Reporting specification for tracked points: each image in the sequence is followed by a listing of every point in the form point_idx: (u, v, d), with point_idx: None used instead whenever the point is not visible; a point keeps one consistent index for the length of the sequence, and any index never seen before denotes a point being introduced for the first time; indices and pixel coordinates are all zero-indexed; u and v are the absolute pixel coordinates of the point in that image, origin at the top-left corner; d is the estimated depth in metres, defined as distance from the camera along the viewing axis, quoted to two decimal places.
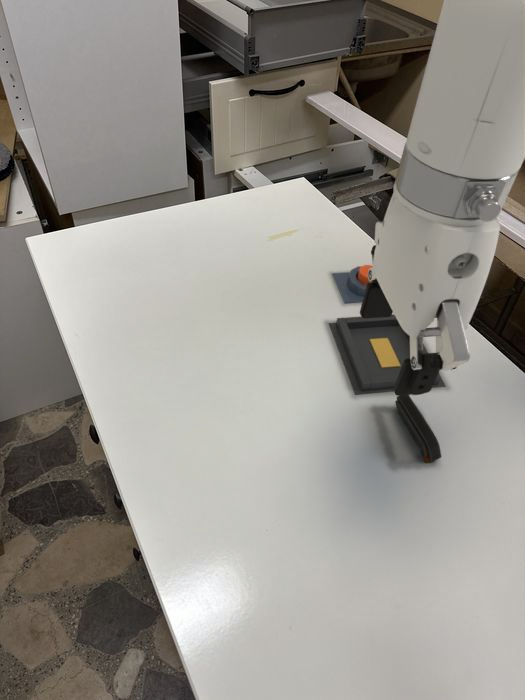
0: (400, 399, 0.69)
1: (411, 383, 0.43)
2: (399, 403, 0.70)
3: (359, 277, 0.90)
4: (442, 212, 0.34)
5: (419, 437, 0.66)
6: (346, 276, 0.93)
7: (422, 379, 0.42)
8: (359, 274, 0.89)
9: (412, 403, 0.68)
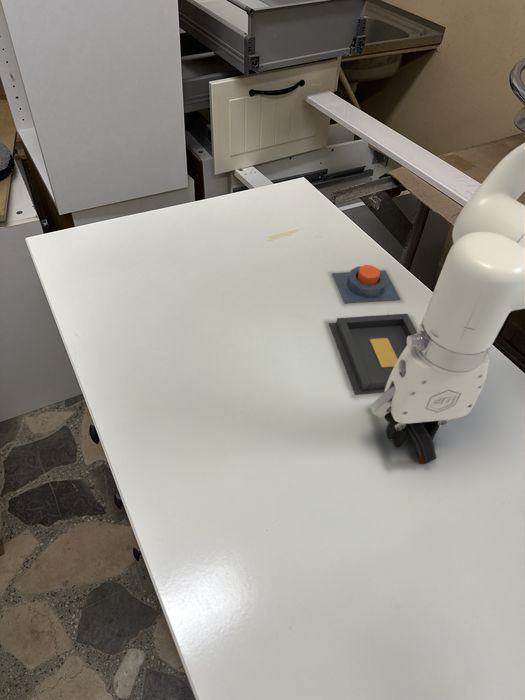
0: None
1: None
2: None
3: (359, 277, 0.90)
4: None
5: (414, 438, 0.65)
6: (346, 276, 0.93)
7: (391, 426, 0.68)
8: (359, 274, 0.89)
9: None
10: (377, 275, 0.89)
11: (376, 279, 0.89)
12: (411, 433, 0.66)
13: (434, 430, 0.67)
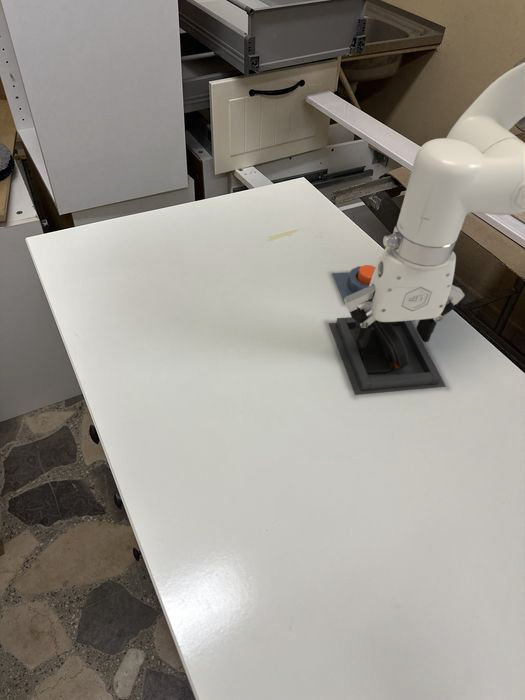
0: None
1: None
2: None
3: (359, 277, 0.90)
4: None
5: (389, 344, 0.75)
6: (346, 276, 0.93)
7: (357, 327, 0.76)
8: (359, 274, 0.89)
9: None
10: None
11: None
12: (387, 341, 0.76)
13: (431, 326, 0.76)
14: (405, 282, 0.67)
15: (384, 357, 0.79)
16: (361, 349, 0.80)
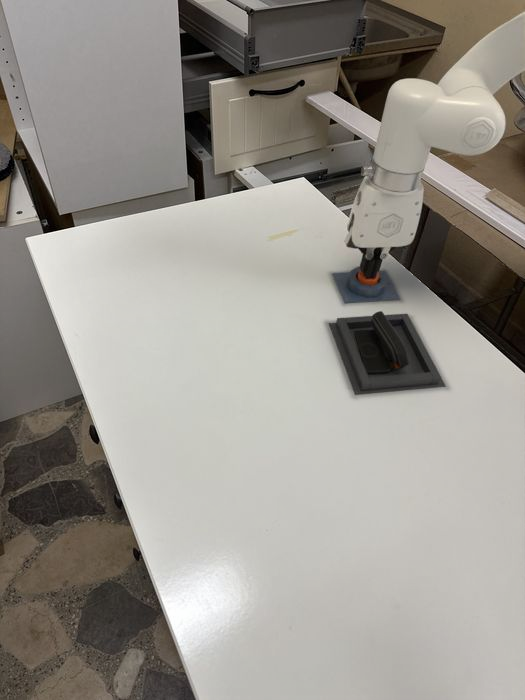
0: (375, 315, 0.79)
1: None
2: (374, 319, 0.79)
3: (358, 280, 0.90)
4: None
5: (389, 344, 0.75)
6: (346, 276, 0.93)
7: (363, 260, 0.88)
8: (358, 277, 0.90)
9: (385, 318, 0.78)
10: (376, 278, 0.89)
11: (375, 282, 0.89)
12: (387, 341, 0.76)
13: (377, 263, 0.86)
14: (380, 208, 0.77)
15: (384, 357, 0.79)
16: (361, 349, 0.80)
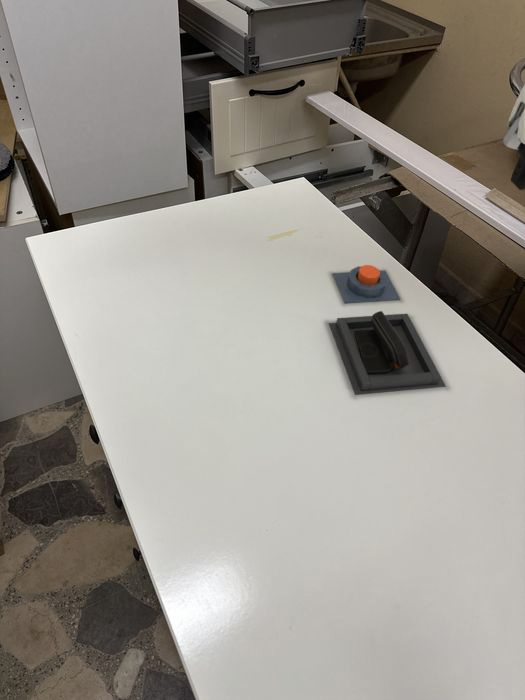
0: (375, 315, 0.79)
1: None
2: (374, 319, 0.79)
3: (359, 277, 0.90)
4: None
5: (389, 344, 0.75)
6: (346, 276, 0.93)
7: (518, 167, 0.75)
8: (359, 274, 0.89)
9: (385, 318, 0.78)
10: (377, 275, 0.89)
11: (376, 279, 0.89)
12: (387, 341, 0.76)
13: None
14: None
15: (384, 357, 0.79)
16: (361, 349, 0.80)
